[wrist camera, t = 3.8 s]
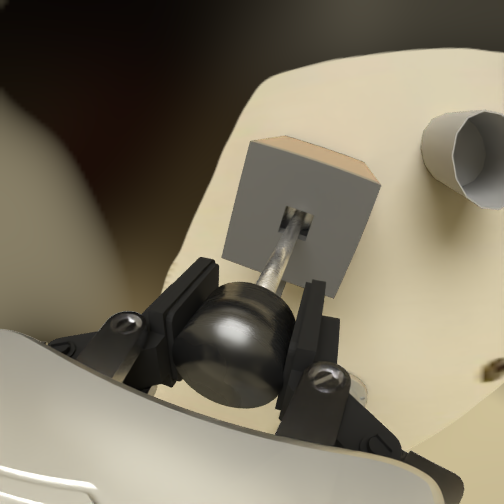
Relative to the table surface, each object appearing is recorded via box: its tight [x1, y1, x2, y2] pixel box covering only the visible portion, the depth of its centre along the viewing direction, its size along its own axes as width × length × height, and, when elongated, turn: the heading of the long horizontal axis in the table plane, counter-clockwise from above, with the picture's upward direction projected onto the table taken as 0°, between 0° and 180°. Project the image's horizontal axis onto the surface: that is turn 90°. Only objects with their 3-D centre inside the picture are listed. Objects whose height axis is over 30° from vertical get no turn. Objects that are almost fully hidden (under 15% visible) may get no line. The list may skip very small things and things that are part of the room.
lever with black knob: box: [172, 206, 314, 408], centre depth 16 cm, size 6×6×17 cm
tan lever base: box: [222, 136, 381, 299], centre depth 28 cm, size 12×9×14 cm
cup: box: [421, 110, 504, 210], centre depth 22 cm, size 8×8×10 cm
